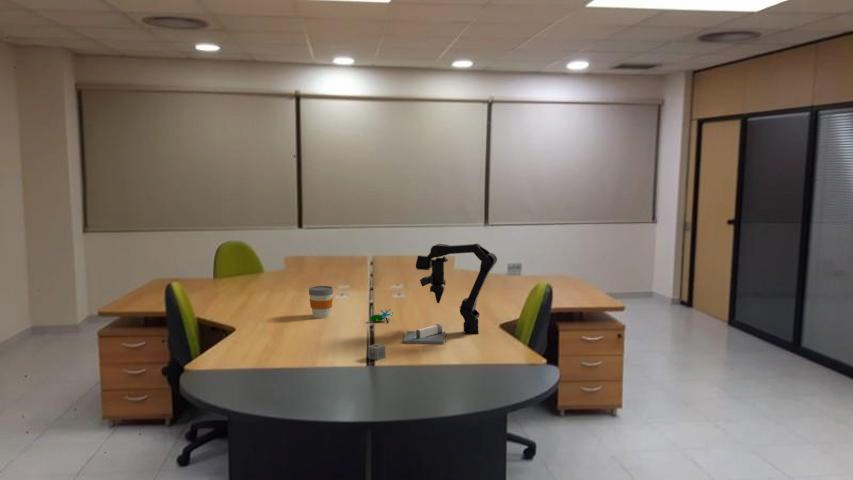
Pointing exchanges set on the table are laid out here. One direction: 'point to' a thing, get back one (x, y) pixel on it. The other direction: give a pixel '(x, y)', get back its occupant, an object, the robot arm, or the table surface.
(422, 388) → the table surface
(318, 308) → the reusable coffee cup
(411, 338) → the plate
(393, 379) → the table surface
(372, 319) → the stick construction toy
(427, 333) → the light grey rounded bar
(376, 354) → the dice cube
